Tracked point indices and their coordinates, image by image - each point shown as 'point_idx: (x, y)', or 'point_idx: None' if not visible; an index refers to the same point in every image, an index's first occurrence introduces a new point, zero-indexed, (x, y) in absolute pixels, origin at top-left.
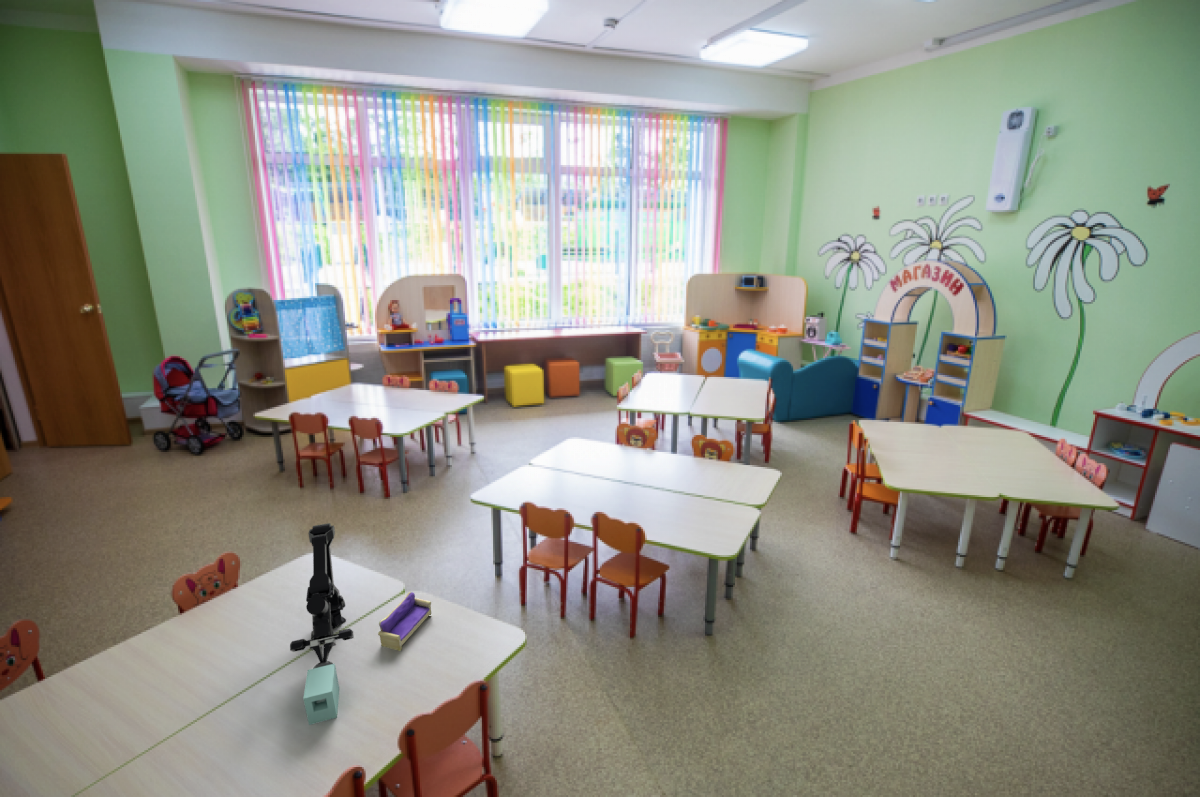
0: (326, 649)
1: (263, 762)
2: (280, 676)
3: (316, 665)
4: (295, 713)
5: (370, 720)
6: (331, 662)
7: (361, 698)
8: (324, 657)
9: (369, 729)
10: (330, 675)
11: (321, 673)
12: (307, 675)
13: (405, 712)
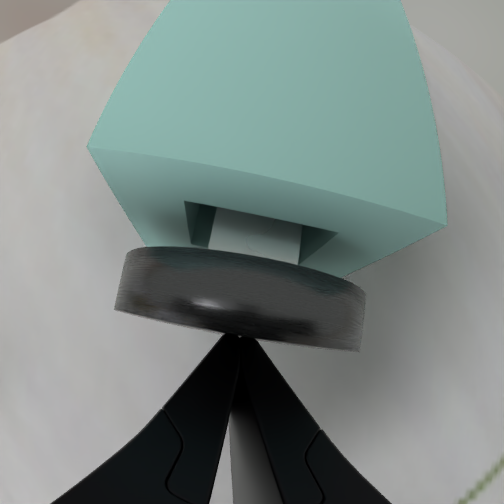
0: (129, 499)
1: (437, 77)
2: (432, 494)
3: (337, 317)
4: None
5: (105, 34)
6: (130, 306)
7: (81, 134)
8: (209, 401)
9: (124, 13)
10: (194, 13)
11: (284, 70)
12: (432, 136)
13: (18, 38)
